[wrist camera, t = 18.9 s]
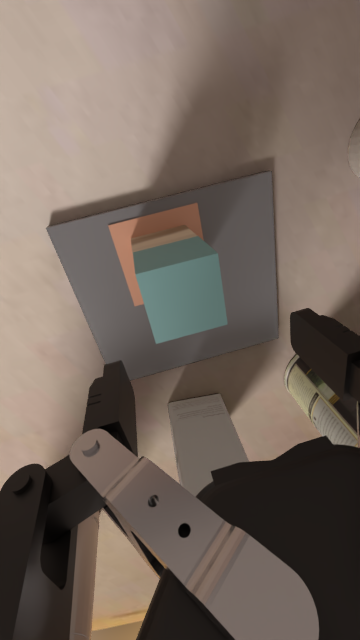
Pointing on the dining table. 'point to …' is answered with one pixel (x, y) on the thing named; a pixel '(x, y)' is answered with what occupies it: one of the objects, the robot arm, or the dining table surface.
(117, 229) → the baseplate
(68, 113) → the dining table surface
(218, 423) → the supplement box
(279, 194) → the dining table surface
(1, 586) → the robot arm
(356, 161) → the coffee cup
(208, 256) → the teal block
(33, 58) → the dining table surface
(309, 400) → the coffee can
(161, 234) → the ash block
